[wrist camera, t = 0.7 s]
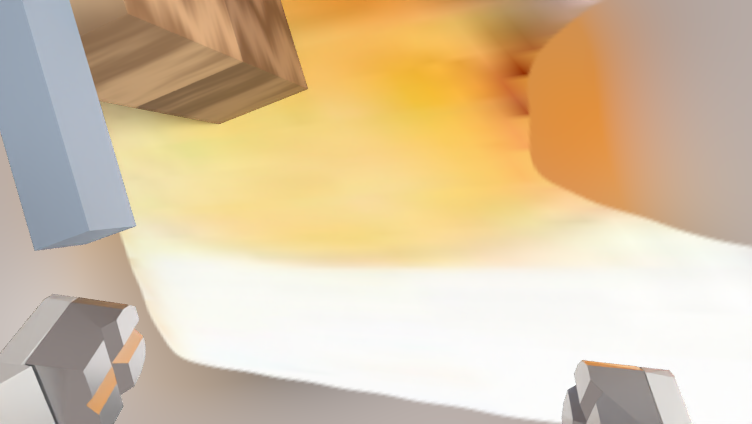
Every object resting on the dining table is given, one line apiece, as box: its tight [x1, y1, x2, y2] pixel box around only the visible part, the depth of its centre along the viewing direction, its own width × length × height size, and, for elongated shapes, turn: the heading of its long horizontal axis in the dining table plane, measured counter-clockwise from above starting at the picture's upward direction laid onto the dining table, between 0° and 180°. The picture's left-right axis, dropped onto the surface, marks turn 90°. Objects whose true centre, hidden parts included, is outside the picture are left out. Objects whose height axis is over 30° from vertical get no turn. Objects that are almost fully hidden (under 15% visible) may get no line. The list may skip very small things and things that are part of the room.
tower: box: [69, 0, 308, 124], centre depth 46 cm, size 12×10×26 cm
